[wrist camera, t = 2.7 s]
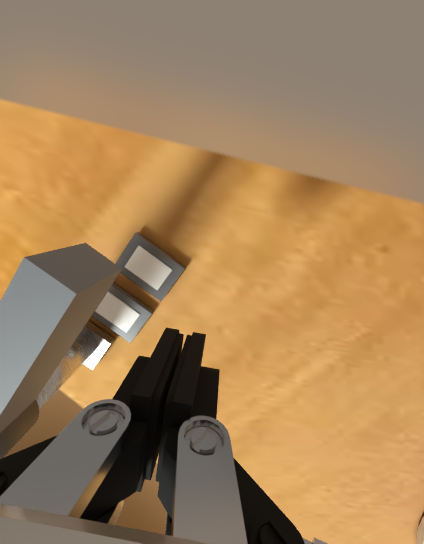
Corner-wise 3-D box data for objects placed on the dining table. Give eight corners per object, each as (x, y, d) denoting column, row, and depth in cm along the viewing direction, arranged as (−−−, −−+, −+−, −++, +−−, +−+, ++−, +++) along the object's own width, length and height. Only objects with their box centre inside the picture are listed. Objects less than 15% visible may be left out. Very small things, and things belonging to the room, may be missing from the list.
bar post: (115, 339, 22) (57, 402, 15) (97, 364, 22) (34, 435, 15) (74, 311, 21) (-5, 361, 14) (57, 337, 22) (-25, 397, 15)
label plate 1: (185, 267, 20) (184, 269, 19) (162, 299, 21) (160, 301, 20) (137, 232, 19) (135, 233, 19) (115, 265, 20) (112, 267, 20)
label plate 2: (153, 311, 21) (151, 314, 20) (132, 339, 22) (129, 343, 21) (107, 278, 20) (104, 280, 20) (88, 308, 21) (83, 311, 21)
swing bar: (134, 278, 12) (94, 306, 9) (23, 440, 15) (-41, 511, 12) (72, 233, 12) (5, 244, 8) (-29, 407, 15) (-111, 469, 11)
